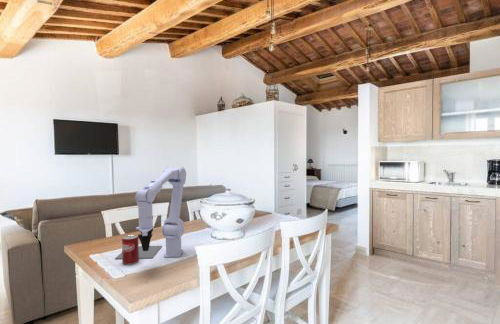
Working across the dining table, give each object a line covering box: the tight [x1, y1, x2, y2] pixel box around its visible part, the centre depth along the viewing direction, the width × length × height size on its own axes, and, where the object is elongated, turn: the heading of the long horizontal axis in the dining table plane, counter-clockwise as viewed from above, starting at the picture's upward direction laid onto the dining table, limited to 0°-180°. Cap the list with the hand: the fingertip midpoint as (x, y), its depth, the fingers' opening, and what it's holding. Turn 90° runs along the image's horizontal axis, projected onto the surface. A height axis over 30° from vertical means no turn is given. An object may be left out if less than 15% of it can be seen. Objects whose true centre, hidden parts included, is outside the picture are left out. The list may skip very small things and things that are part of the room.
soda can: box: [121, 234, 140, 266], centre depth 138 cm, size 7×7×12 cm
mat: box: [114, 245, 163, 260], centre depth 151 cm, size 18×18×1 cm
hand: (146, 247), depth 127 cm, fingers open, 7 cm apart
